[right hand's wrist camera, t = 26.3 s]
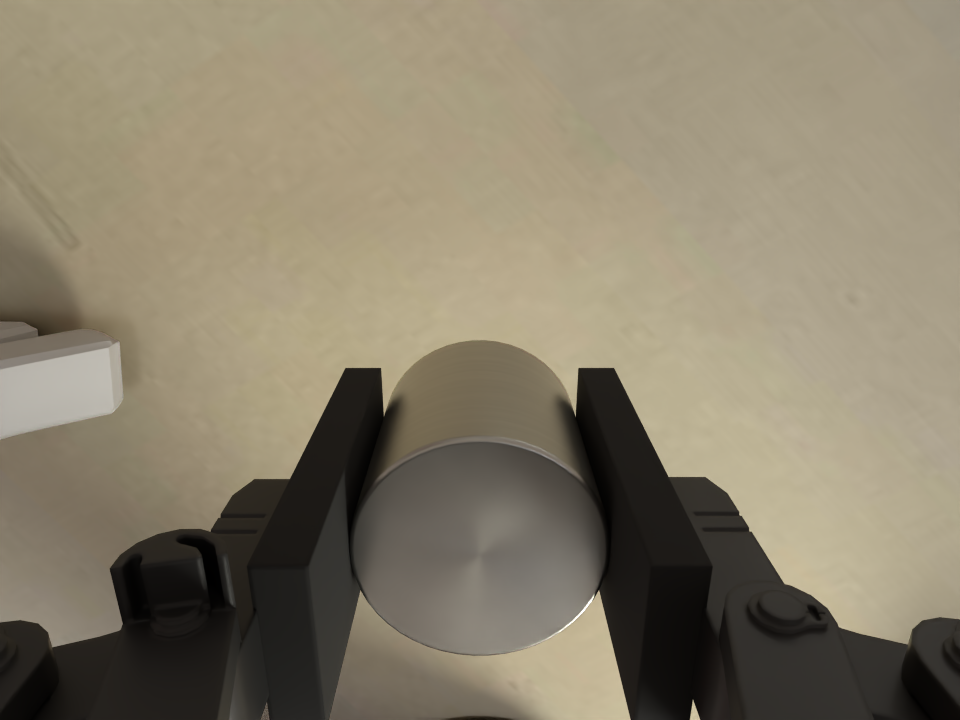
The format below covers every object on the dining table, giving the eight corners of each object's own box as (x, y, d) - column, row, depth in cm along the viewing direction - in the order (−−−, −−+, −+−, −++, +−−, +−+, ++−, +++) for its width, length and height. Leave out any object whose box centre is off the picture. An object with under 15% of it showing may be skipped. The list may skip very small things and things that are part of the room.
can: (351, 453, 15) (301, 587, 11) (449, 302, 14) (436, 387, 10) (506, 538, 16) (515, 693, 12) (611, 402, 15) (665, 522, 11)
